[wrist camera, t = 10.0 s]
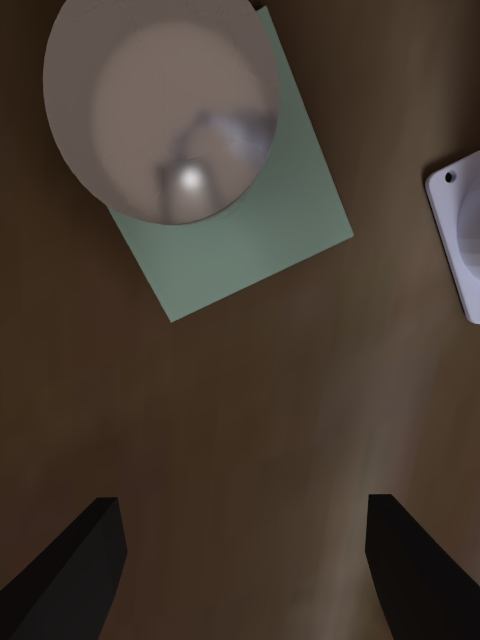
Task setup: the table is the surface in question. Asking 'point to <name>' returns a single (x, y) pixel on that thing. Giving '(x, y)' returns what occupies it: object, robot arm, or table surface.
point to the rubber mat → (248, 217)
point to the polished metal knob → (162, 104)
